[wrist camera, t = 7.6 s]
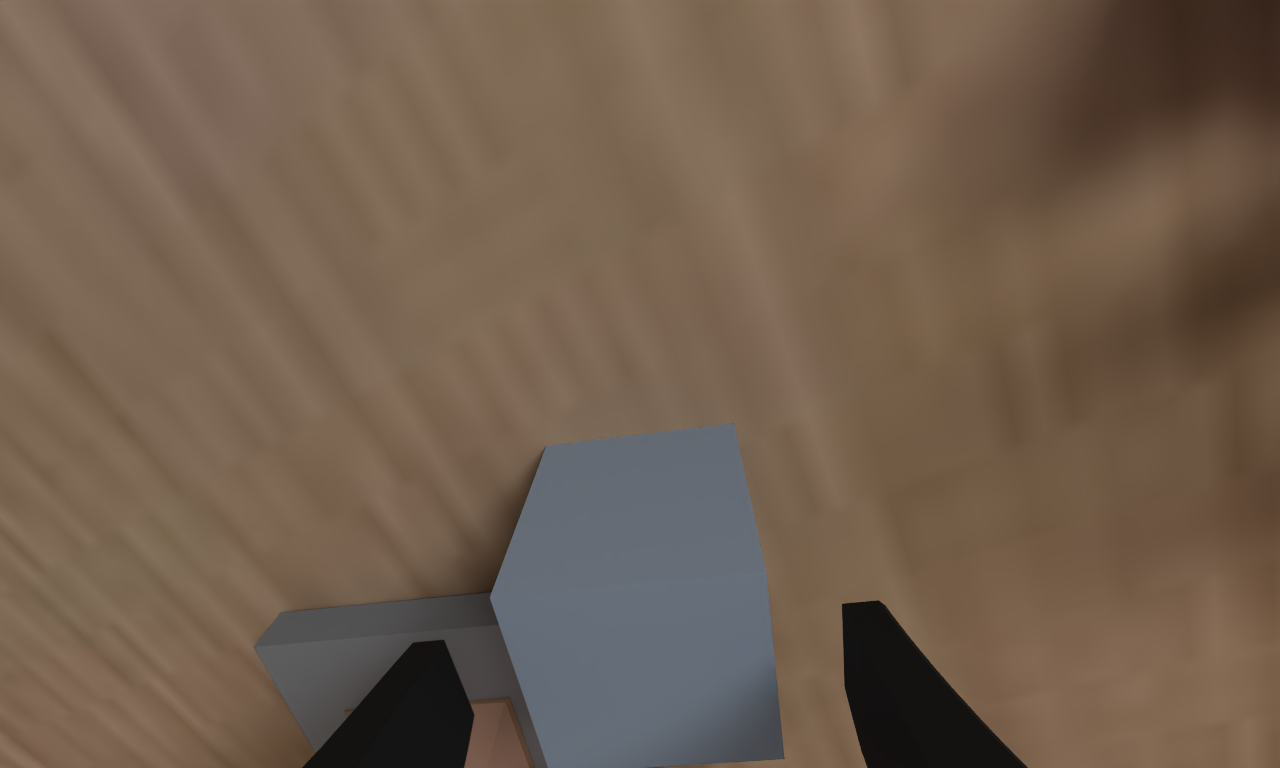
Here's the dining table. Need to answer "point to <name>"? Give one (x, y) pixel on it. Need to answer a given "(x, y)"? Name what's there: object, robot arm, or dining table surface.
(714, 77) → the dining table surface
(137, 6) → the dining table surface
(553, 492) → the brick
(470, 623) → the build base
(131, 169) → the dining table surface
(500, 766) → the brick
